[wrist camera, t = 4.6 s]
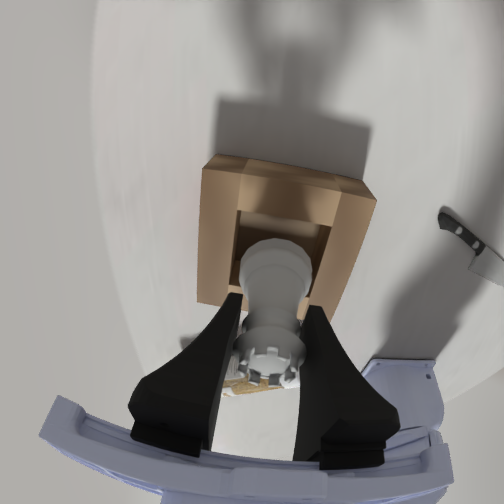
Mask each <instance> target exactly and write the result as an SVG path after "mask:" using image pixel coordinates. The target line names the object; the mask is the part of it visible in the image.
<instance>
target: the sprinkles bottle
mask: <svg viewBox="0 0 504 504" xmlns="http://www.w3.org/2000/svg"><path fill="white" fill-rule="evenodd" d="M237 369H238V363H237V362H236V360H235V358H234V356H231V359H230V362H229V366H228V369H227V372H226V376H225V379H224V383H223V388H222V393H221V397H229V396H236V395H244V394H251V393H254V392H260V391H267V390H272V389H278V388H286V389H289V388H295V387H299V386H300V377H299V367H298V372H296V378H295V379H294V380H293V381H291V382H290V383H287V382H286V381H284V377H283V378H280V387H269V385H268V383H269V379H263V378H260V383H259V385H258V386H256V385H254V384H251V383H249V382H248V378H249V374H248V373H247V376H242V377H241V376H240V374H239V372H238V370H237Z"/></svg>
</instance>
